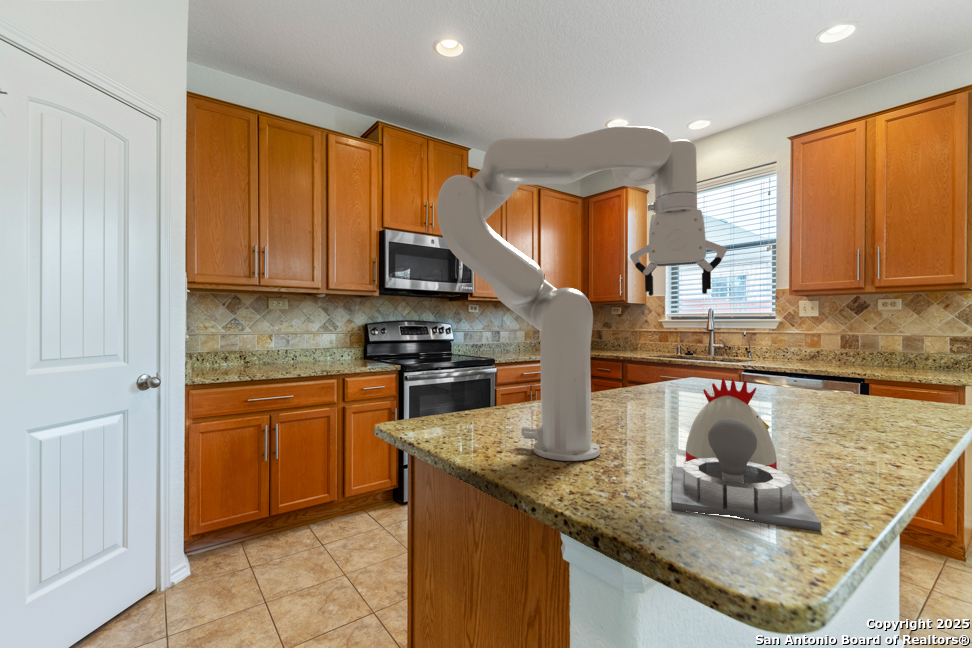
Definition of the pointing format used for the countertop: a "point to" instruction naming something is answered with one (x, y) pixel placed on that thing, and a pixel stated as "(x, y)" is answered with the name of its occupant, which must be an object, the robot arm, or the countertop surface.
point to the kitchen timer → (730, 407)
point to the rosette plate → (763, 515)
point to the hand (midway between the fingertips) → (677, 294)
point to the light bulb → (732, 447)
